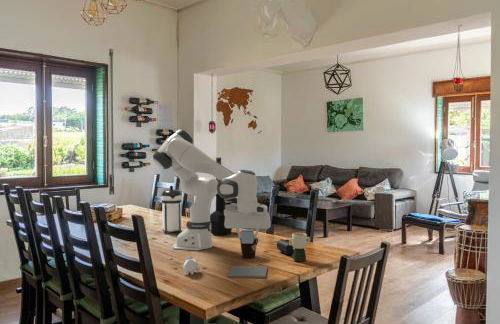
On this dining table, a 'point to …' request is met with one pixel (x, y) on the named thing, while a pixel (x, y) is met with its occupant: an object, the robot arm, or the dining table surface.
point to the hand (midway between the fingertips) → (247, 238)
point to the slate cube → (247, 236)
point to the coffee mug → (248, 249)
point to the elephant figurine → (190, 265)
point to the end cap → (285, 247)
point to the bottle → (219, 218)
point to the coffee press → (171, 210)
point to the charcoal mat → (247, 272)
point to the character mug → (299, 245)
